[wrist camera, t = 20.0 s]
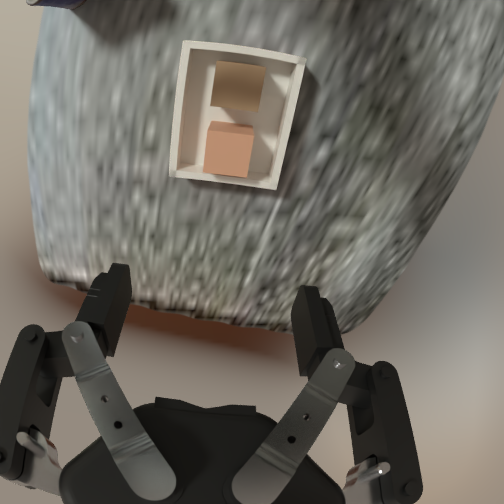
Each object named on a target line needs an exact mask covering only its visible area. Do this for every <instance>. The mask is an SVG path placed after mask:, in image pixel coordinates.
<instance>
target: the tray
mask: <svg viewBox="0 0 504 504" xmlns="http://www.w3.org/2000/svg"><path fill="white" fill-rule="evenodd" d="M306 59H307V58H303V57H298V56H294V55H289V54H285V53H280V52H275V51H270V50H264V49H258V48H252V47H245V46H238V45H230V44H222V43H212V42H200V41H185V40H183V45H182V52H181V59H180V65H179V73H178V80H177V88H176V97H175V106H174V116H173V126H172V137H171V150H170V165H169V177H179V178H188V179H197V180H206V181H214V182H222V183H230V184H238V185H245V186H252V187H259V188H266V189H272V190H276V189H277V185H278V181H279V176H280V172H281V168H282V163H283V159H284V155H285V151H286V146H287V142H288V138H289V133H290V129H291V125H292V120H293V116H294V112H295V107H296V103H297V99H298V94H299V90H300V86H301V81H302V77H303V72H304V68H305V63H306ZM218 60H223V61H231V62H239V63H247V64H253V65H260V66H264V67H266V72H265V78H264V83H263V88H262V93H261V99H260V104H259V109H258V112H253V111H246V110H239V109H231V108H223V107H214V106H210V103H211V95H212V88H213V82H214V75H215V68H216V62H217V61H218ZM211 121H221V122H230V123H238V124H245V125H252V126H253V132H254V140H253V146H252V151H251V157H250V163H249V168H248V174H247V178H246V177H238V176H230V175H221V174H212V173H203V165H204V156H205V147H206V138H207V130H208V128H209V125H210V123H211Z"/></svg>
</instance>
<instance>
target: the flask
mask: <svg viewBox="0 0 504 504" xmlns="http://www.w3.org/2000/svg"><path fill="white" fill-rule="evenodd" d="M85 1H86V0H27V1H26V2H27V4H28V5H30V6H51V7H59V8H65V9H75V8H77V7H79V6H81V5H83V4H84V3H85Z"/></svg>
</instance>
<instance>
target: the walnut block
mask: <svg viewBox="0 0 504 504" xmlns="http://www.w3.org/2000/svg"><path fill="white" fill-rule="evenodd" d="M265 72H266V67H264V66H260V65H253V64H247V63H239V62H231V61H223V60H218V61H217V62H216V68H215V75H214V82H213V88H212V95H211V103H210V106H214V107H223V108H231V109H239V110H246V111H253V112H258V109H259V104H260V99H261V93H262V88H263V83H264V78H265Z"/></svg>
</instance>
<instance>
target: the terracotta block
mask: <svg viewBox="0 0 504 504" xmlns="http://www.w3.org/2000/svg"><path fill="white" fill-rule="evenodd" d="M253 140H254V132H253V126H252V125H245V124H238V123H230V122H221V121H211V123H210V125H209V128H208V130H207V138H206V147H205V156H204V165H203V173H212V174H221V175H230V176H238V177H246V178H247V174H248V168H249V163H250V157H251V151H252V146H253Z"/></svg>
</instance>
